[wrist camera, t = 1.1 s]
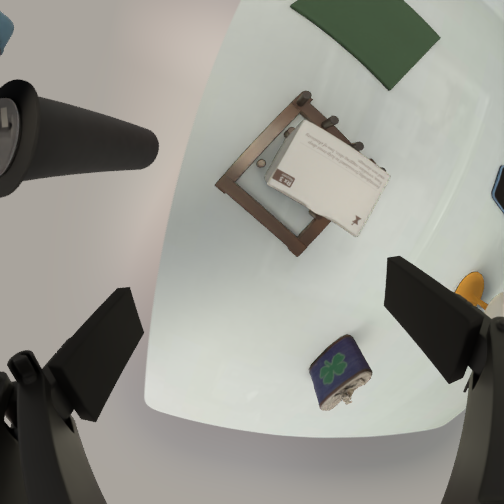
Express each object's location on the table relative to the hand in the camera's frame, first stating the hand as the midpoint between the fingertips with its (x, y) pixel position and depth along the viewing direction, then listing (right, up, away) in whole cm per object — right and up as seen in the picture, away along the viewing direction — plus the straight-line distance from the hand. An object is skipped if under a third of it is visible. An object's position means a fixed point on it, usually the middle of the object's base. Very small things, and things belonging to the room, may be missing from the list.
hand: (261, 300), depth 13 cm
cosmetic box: (+5, +12, +20) cm, 24 cm away
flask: (+12, -14, +28) cm, 33 cm away
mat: (+17, +36, +12) cm, 42 cm away
